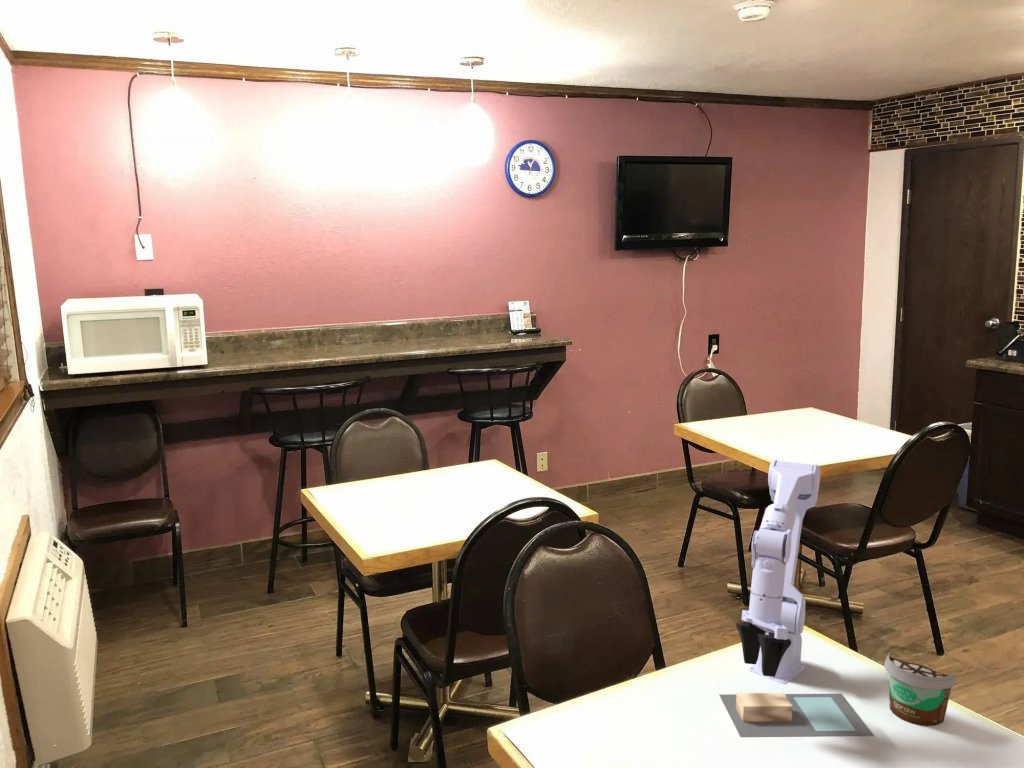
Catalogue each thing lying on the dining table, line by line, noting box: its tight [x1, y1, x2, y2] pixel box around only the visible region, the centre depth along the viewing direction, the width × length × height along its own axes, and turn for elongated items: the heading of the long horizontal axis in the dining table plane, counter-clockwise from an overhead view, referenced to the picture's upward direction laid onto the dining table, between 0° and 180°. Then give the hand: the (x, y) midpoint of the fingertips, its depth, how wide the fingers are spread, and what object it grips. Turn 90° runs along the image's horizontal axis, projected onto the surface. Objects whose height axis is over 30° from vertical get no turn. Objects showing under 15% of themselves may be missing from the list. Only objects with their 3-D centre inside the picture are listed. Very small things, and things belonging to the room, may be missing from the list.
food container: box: [883, 652, 957, 727], centre depth 150 cm, size 12×6×10 cm, turn 47°
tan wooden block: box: [736, 692, 793, 722], centre depth 151 cm, size 9×4×3 cm, turn 91°
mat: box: [719, 693, 875, 738], centre depth 151 cm, size 24×14×1 cm, turn 91°
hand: (759, 669), depth 149 cm, fingers open, 7 cm apart
